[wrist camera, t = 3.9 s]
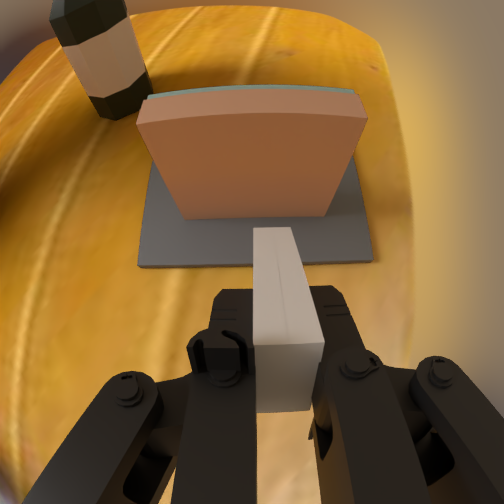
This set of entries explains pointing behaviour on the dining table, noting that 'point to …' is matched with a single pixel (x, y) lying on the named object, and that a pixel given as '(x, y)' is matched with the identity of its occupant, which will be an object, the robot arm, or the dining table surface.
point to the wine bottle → (103, 54)
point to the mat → (251, 231)
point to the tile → (252, 147)
